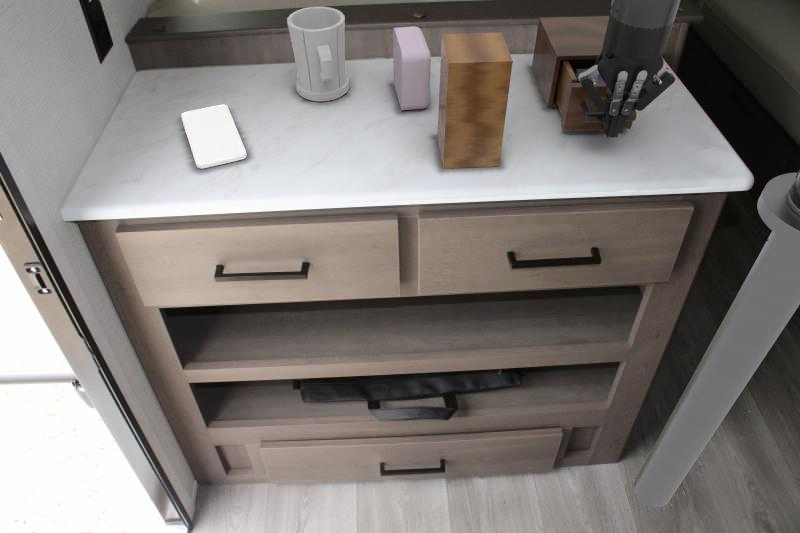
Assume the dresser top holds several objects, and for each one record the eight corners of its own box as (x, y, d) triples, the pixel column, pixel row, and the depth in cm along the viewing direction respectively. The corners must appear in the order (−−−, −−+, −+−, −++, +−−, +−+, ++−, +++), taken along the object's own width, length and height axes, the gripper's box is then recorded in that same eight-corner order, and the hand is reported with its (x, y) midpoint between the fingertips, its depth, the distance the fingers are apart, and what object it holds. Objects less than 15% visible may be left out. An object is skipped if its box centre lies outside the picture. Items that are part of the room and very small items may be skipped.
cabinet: (618, 106, 100) (632, 54, 94) (547, 108, 100) (556, 56, 94) (596, 66, 110) (608, 15, 104) (531, 68, 110) (539, 17, 103)
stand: (490, 135, 95) (501, 32, 84) (499, 166, 89) (512, 60, 78) (437, 137, 95) (441, 33, 83) (443, 168, 89) (448, 62, 78)
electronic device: (431, 111, 100) (433, 51, 93) (402, 114, 99) (402, 54, 92) (421, 80, 107) (422, 22, 100) (393, 82, 106) (393, 24, 99)
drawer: (639, 145, 91) (653, 100, 86) (569, 147, 91) (579, 102, 86) (607, 87, 103) (618, 45, 98) (545, 88, 103) (553, 46, 98)
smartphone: (196, 166, 89) (179, 112, 98) (197, 170, 89) (181, 117, 99) (247, 154, 91) (226, 103, 100) (248, 158, 91) (227, 107, 101)
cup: (368, 90, 105) (365, 18, 96) (330, 113, 100) (323, 40, 91) (322, 70, 109) (315, 1, 101) (284, 91, 104) (273, 20, 96)
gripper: (597, 27, 74) (569, 151, 86) (708, 24, 74) (665, 148, 86) (581, 0, 79) (557, 121, 91) (685, -2, 79) (647, 118, 92)
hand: (610, 134), depth 89 cm, fingers closed
